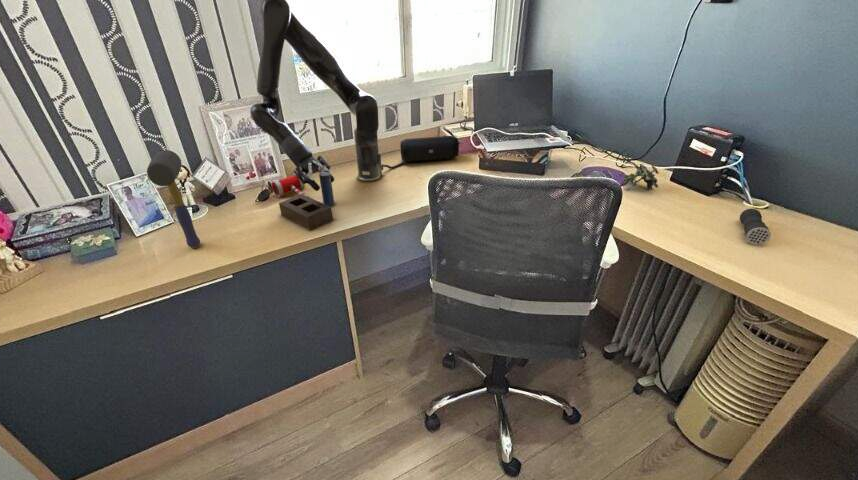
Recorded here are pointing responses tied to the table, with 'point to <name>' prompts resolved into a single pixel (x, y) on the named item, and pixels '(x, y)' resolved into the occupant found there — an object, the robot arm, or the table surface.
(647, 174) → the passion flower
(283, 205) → the holder
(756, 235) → the flashlight
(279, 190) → the toy hammer
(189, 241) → the rubber mallet
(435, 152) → the portable speaker
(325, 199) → the handle
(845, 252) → the table surface
